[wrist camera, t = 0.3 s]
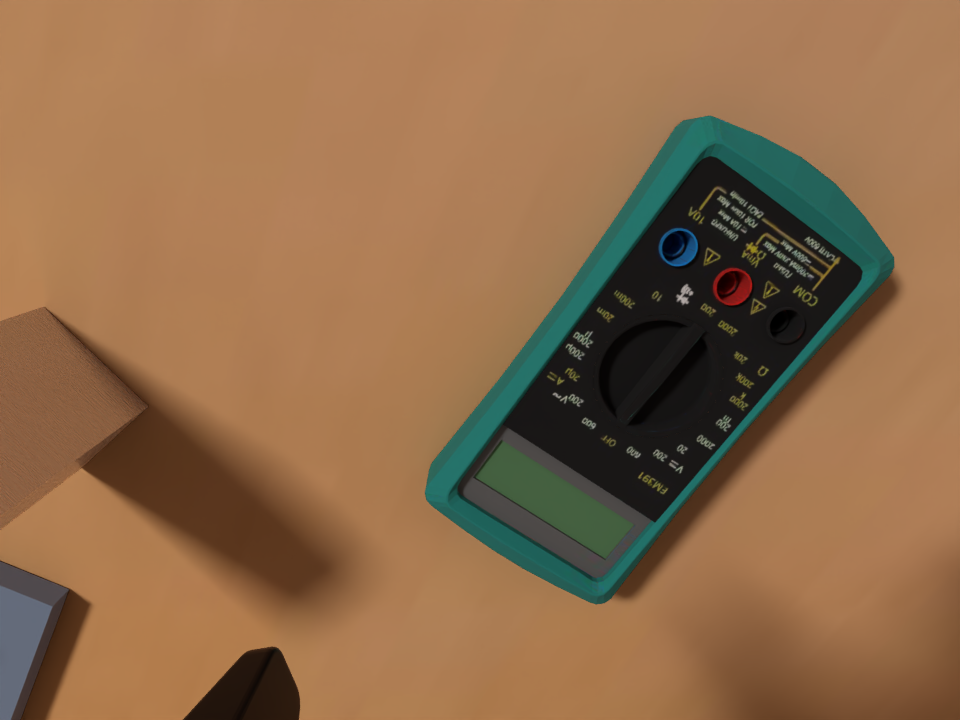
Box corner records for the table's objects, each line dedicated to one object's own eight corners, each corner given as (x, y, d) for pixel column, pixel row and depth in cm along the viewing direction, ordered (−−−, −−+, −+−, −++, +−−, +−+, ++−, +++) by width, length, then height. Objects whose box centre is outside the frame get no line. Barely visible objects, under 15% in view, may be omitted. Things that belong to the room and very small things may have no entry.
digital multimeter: (874, 237, 22) (930, 250, 19) (589, 574, 25) (601, 627, 22) (692, 97, 21) (723, 88, 18) (422, 469, 24) (412, 511, 21)
